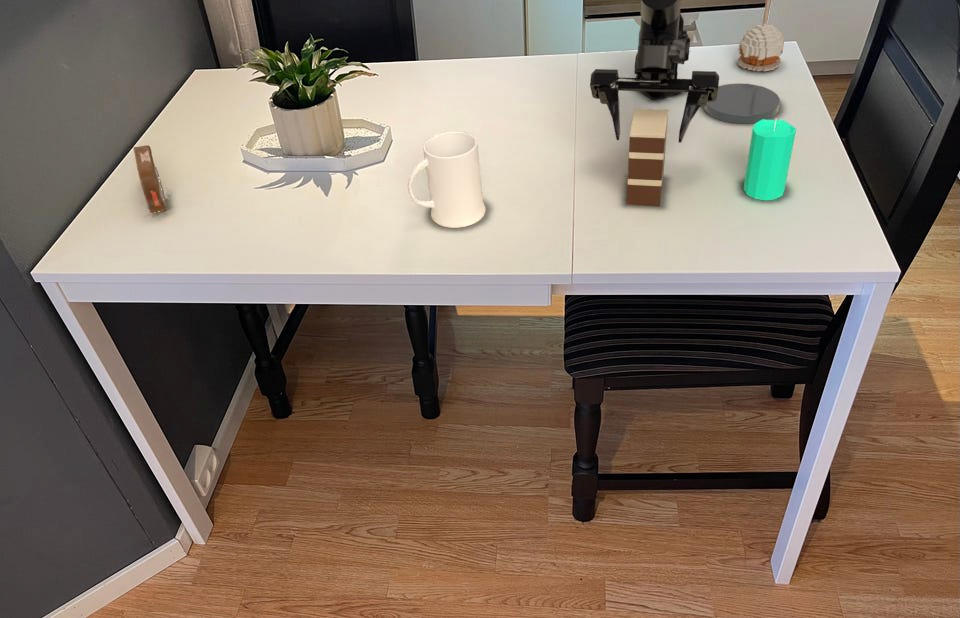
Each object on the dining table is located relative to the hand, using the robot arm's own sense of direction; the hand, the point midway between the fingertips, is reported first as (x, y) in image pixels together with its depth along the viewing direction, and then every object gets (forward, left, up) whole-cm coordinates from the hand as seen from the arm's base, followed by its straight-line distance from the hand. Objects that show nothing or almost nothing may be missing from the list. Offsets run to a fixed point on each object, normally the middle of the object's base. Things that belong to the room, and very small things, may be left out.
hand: (648, 140), depth 119 cm
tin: (-35, -73, -9) cm, 82 cm away
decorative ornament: (-29, +42, -9) cm, 52 cm away
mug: (-7, -30, -9) cm, 32 cm away
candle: (+9, +16, -9) cm, 20 cm away
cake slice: (+1, 0, -8) cm, 8 cm away
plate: (-16, +29, -8) cm, 34 cm away
